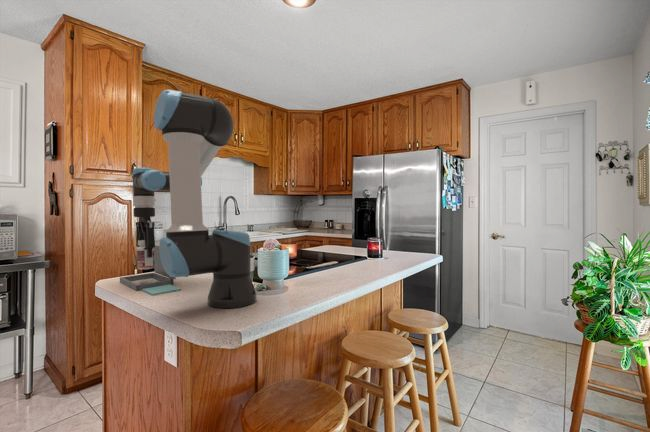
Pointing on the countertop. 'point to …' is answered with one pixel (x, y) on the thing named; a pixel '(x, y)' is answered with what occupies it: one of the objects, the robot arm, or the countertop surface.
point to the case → (150, 275)
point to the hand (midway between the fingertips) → (145, 264)
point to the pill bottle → (142, 256)
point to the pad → (161, 289)
